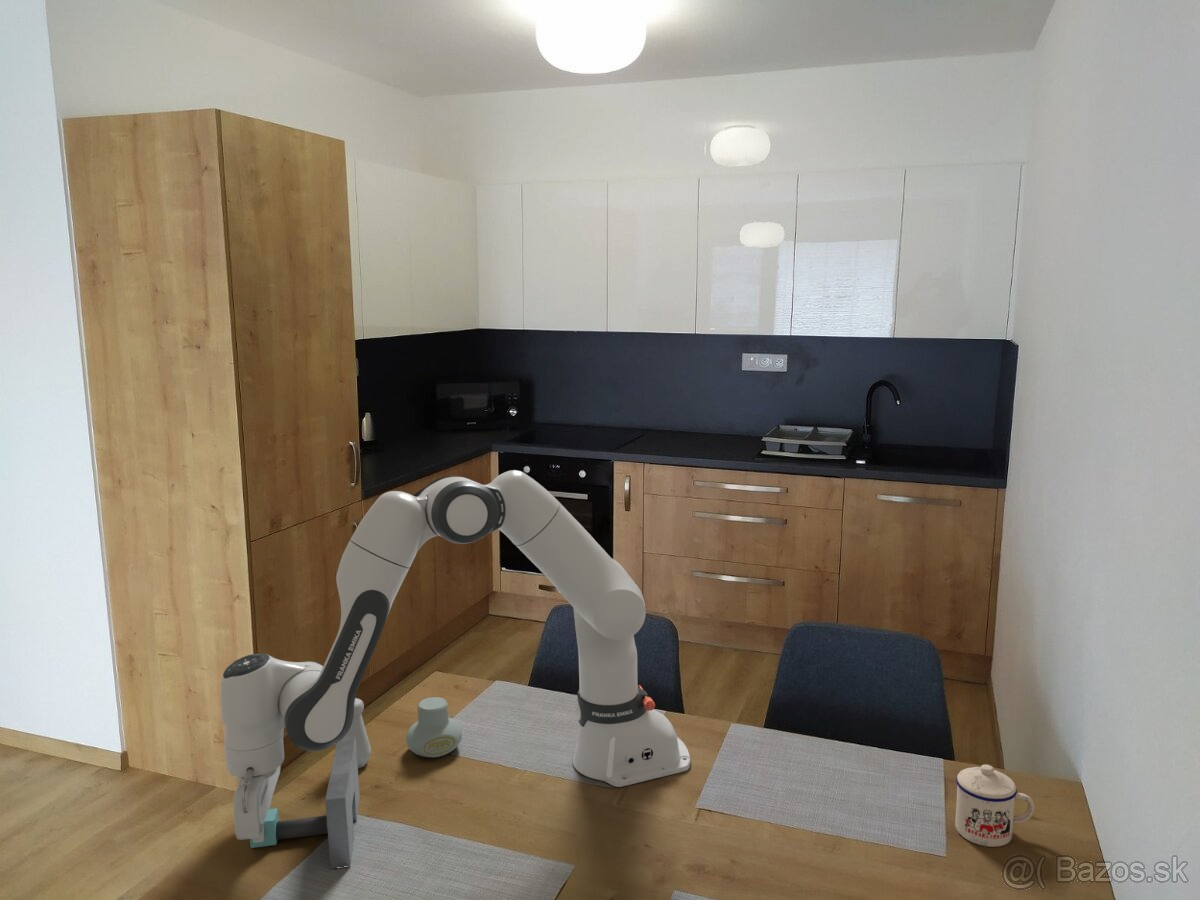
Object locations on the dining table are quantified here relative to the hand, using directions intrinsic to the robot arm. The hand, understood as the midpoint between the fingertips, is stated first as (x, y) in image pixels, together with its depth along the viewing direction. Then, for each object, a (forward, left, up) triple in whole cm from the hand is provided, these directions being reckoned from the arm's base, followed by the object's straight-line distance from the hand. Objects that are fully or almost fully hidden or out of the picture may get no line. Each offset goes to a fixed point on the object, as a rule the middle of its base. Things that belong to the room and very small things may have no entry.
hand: (262, 830), depth 145 cm
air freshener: (-28, -24, -2) cm, 37 cm away
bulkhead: (-13, 0, -2) cm, 14 cm away
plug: (-5, 0, -2) cm, 5 cm away
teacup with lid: (-118, +24, -2) cm, 121 cm away
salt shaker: (-13, -22, -2) cm, 26 cm away
